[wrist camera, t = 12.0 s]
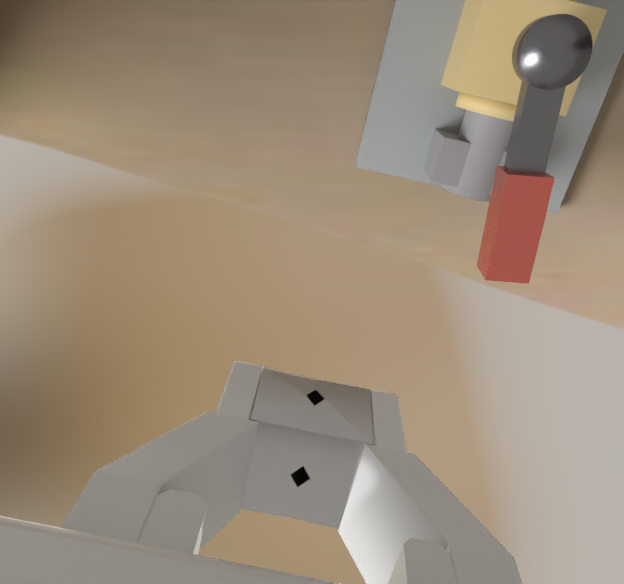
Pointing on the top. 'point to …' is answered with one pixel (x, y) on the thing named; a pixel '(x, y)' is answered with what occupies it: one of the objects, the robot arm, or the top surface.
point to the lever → (531, 144)
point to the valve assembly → (476, 91)
